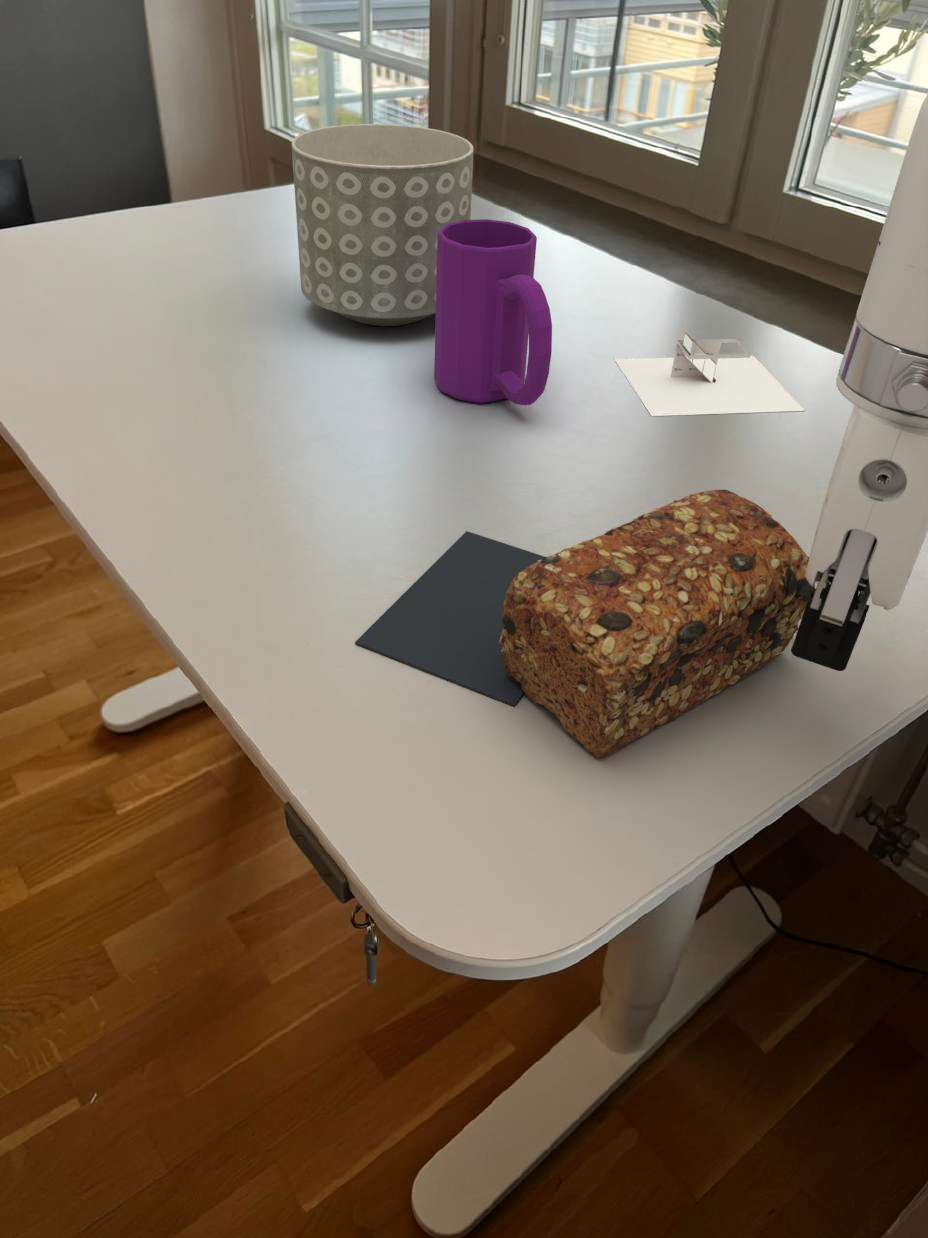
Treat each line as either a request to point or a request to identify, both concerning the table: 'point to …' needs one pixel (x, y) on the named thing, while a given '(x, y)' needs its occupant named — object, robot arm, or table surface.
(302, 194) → the planter
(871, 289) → the robot arm
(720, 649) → the bread
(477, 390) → the mug
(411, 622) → the corner pad
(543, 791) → the table surface
